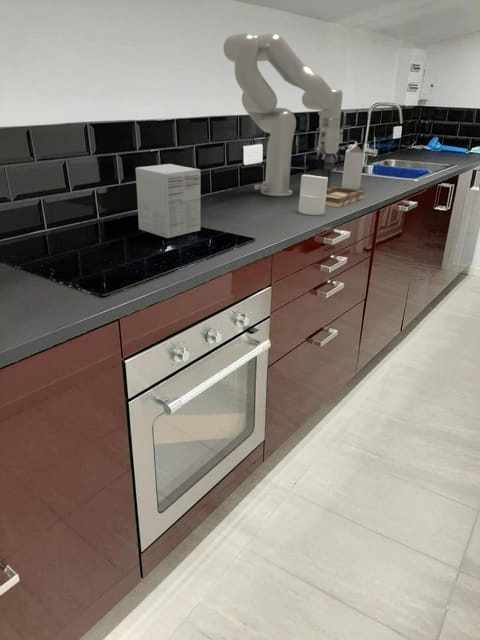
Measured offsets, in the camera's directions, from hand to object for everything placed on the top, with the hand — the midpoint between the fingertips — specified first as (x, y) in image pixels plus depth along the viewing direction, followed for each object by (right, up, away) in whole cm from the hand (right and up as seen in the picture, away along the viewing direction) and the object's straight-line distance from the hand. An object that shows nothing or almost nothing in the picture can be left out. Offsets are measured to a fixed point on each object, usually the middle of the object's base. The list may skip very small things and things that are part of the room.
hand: (325, 167), depth 203 cm
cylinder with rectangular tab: (-11, -25, -32) cm, 42 cm away
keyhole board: (+2, -17, -13) cm, 21 cm away
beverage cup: (-1, -9, +4) cm, 9 cm away
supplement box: (-56, -37, -59) cm, 89 cm away
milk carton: (+13, -5, +13) cm, 19 cm away
